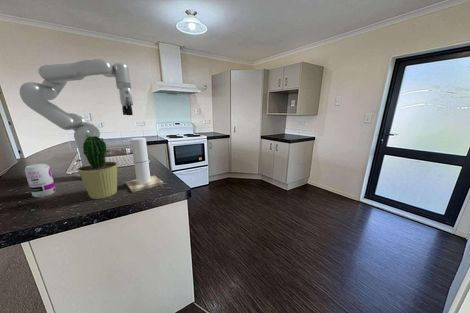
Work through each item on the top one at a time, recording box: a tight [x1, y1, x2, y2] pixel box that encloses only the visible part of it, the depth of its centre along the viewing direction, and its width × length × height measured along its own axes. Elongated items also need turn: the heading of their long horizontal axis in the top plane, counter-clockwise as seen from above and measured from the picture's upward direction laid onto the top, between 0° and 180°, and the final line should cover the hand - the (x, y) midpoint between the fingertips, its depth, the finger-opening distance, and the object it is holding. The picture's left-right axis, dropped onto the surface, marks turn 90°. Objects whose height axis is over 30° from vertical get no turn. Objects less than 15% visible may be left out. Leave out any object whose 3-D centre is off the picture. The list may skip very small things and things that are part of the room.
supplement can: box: [24, 163, 57, 198], centre depth 86 cm, size 8×8×15 cm
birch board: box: [125, 174, 164, 193], centre depth 101 cm, size 16×14×2 cm
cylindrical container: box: [130, 137, 151, 184], centre depth 97 cm, size 7×7×25 cm
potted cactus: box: [77, 136, 118, 200], centre depth 85 cm, size 15×15×30 cm
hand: (127, 115), depth 111 cm, fingers open, 9 cm apart
